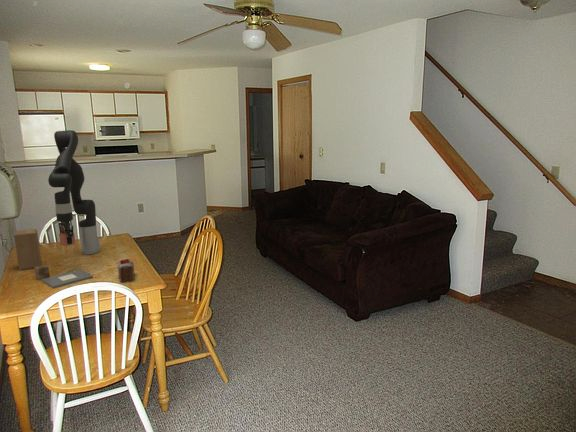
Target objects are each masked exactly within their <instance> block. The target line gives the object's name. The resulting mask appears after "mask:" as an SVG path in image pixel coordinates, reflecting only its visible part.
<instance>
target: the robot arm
mask: <svg viewBox="0 0 576 432" xmlns="http://www.w3.org/2000/svg"><path fill="white" fill-rule="evenodd" d="M53 138H54V141H55V145H56V147H57V150H58V151H57V152H58V154H59V155H57V158H56V160H55V165H54V168H53V169H52V171H51V173H50V174H49V175H48V179H47V182H48V184H49V186H50V187H51V188H63V190H61V191H57V192H55V193H54V203H55V206H54V207H55V208H54V210H55V216H56V222H57V224H58V230H59V233H65V234H66V237H67V244H72V236H73V233H74V225H72V223H71V222H72V221H73V220H74V217H73V211H74V213H75V214H76V215H78V216H85V219H83V220H79V222H78V228H79V229H78V230H79V238H80V248H81V253H82V255H85V256H87V255H89V256H90V255H94V254H98V253H100V252H101V251H100V250H101V247H100V240H99V236H98V233H97V226H96V225H97V224H96V222H97V213H96V212H97V211H96V204H95V202H94V200H92V199H83V198H82V195H81V190H82V188H83V185H84V182H85V174H84V171H83V168H82V166H81V165H80V164H79V162H77V161H76V160H75V159H74V158H73V157H74V156H75V152H76V150H77V149H78V148H77V147H78V145H79V137H78V133H77V132H76V130H71V129H69V130H58V131H55V132H54V137H53ZM71 201H72V203H71ZM71 232H72V233H71ZM69 233H70V234H69Z"/></svg>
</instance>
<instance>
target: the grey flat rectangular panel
mask: <svg viewBox="0 0 576 432" xmlns="http://www.w3.org/2000/svg"><path fill="white" fill-rule="evenodd" d="M93 278H94V276H93V274H90V273H89V272H86V271H84V270H82V269H78V270H73V271H69V272H64V273H61V274H57V275H53V276H50V277H48V278H44V279H42V280H41V282H43V283H44V284H46V285H47V286H49V287H50V288H52V289H56V288H59V287H63V286H67V285H71V284H75V283H79V282H82V281H85V280H91V279H93Z"/></svg>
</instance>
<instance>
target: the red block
mask: <svg viewBox="0 0 576 432" xmlns="http://www.w3.org/2000/svg"><path fill="white" fill-rule="evenodd" d="M71 233H72V232H71ZM58 234H59V235H58V236H59V244H60V245H61V246H63V247H69V246H72V245H76V238H75V233H74V232H73V236H72V244H67V237H66V234H65V233H60V232H59V233H58ZM69 234H70V233H69Z"/></svg>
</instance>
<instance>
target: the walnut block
mask: <svg viewBox="0 0 576 432" xmlns="http://www.w3.org/2000/svg"><path fill="white" fill-rule="evenodd" d="M33 269H34V274H35V279H37V280H38V281H42V279H44V278H48V277H51V275H50V269H49V266H48V265H46V264H41V265H40V266H36V267H34V268H33Z"/></svg>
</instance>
